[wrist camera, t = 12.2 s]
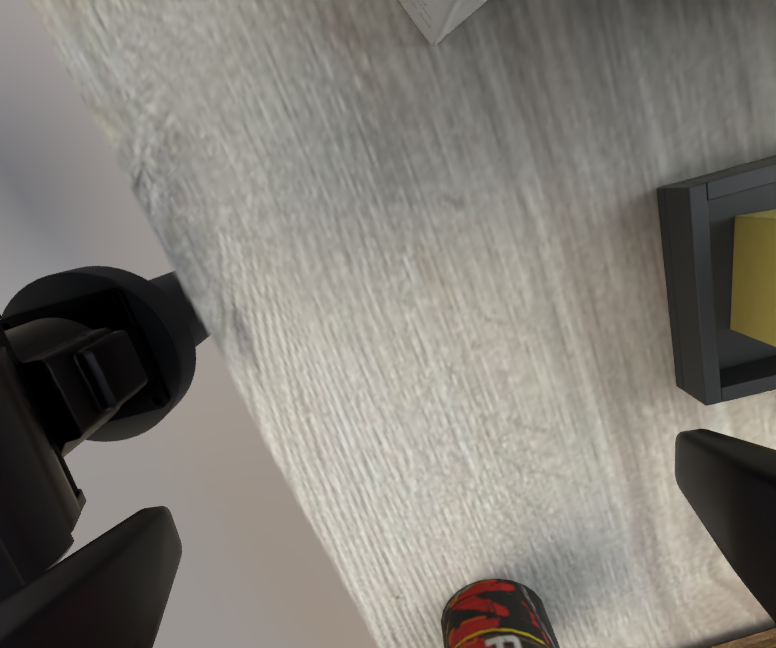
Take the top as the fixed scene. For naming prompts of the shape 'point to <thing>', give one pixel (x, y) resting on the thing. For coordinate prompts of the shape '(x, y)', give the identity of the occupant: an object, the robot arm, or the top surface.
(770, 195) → the tray
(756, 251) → the sponge wand
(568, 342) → the top surface
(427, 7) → the cosmetic box
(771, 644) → the picture frame
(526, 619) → the deodorant
